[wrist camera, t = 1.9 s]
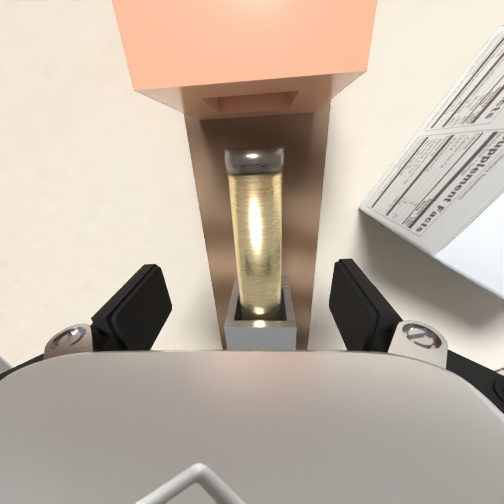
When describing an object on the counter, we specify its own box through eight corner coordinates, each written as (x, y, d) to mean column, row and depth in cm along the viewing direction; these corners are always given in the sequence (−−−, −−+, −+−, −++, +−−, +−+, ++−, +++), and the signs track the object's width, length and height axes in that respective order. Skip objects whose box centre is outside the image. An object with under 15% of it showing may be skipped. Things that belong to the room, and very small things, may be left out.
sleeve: (285, 347, 24) (291, 410, 18) (243, 346, 24) (236, 408, 19) (287, 275, 20) (296, 327, 14) (235, 275, 20) (223, 326, 14)
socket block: (314, 112, 14) (366, 70, 7) (198, 120, 15) (133, 90, 7) (321, 7, 12) (410, -219, 5) (185, 21, 12) (73, -157, 5)
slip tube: (280, 362, 22) (282, 397, 19) (248, 362, 22) (245, 395, 19) (282, 146, 13) (287, 145, 10) (228, 149, 13) (217, 149, 10)
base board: (304, 343, 26) (306, 353, 24) (225, 342, 26) (223, 352, 25) (331, 20, 13) (339, 5, 12) (178, 36, 14) (168, 23, 12)
